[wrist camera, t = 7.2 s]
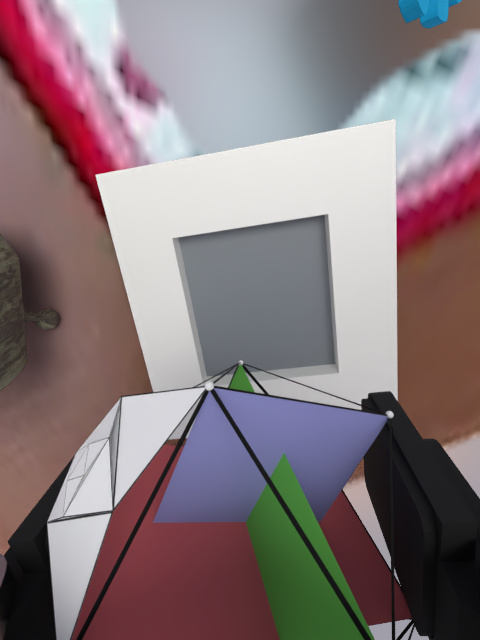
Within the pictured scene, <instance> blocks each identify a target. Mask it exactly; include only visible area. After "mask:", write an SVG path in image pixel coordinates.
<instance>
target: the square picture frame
mask: <svg viewBox="0 0 480 640" xmlns="http://www.w3.org/2000/svg"><path fill="white" fill-rule="evenodd" d="M96 179H97V183H98V187H99V190H100V194H101V198H102V202H103V205H104V209H105V213H106V217H107V220H108V224H109V228H110V232H111V235H112V239H113V243H114V247H115V250H116V254H117V258H118V262H119V265H120V269H121V273H122V277H123V280H124V284H125V288H126V292H127V295H128V299H129V303H130V307H131V310H132V314H133V318H134V322H135V325H136V329H137V333H138V337H139V340H140V344H141V348H142V352H143V355H144V359H145V363H146V367H147V370H148V374H149V378H150V382H151V385H152V389H153V392H159V391H167V390H175V389H183V388H192V387H194V386H196V385H198V384H200V383H202V382H204V381H206V380H207V379H209V378H211V377H213V376H215V375H217V374H219V373H221V372H223V371H224V370H226V369H228V368H230V367H232V366H234V365H236V364H238V362H239V361H240V360H242V361H243V362H244V364H247V365H250V366H253V367H256V368H258V369H261V370H264V371H267V372H270V373H273V374H276V375H278V376H281V377H284V378H287V379H290V380H293V381H295V382H298V383H301V384H304V385H307V386H310V387H312V388H315V389H318V390H321V391H324V392H327V393H329V394H332V395H335V396H338V397H341V398H344V399H346V400H349V401H352V402H355V403H358V404H361V400H362V399H366V398H368V394H369V393H373V392H385V391H391V392H392V394H393V395H394V397H395V398H396V400H397V401H398V392H397V248H396V119H393V120H387V121H382V122H377V123H371V124H366V125H361V126H355V127H350V128H344V129H339V130H334V131H328V132H323V133H318V134H312V135H307V136H302V137H296V138H291V139H286V140H280V141H275V142H269V143H264V144H259V145H253V146H248V147H242V148H237V149H232V150H226V151H221V152H216V153H210V154H205V155H199V156H194V157H189V158H183V159H178V160H173V161H167V162H162V163H156V164H151V165H146V166H140V167H135V168H130V169H124V170H119V171H113V172H108V173H103V174H97V175H96ZM244 366H245V367H246V368H247V369H248V370H249V371H250V373H251V374H252V375H253V376H254V377H255V378H256V380H257V381H258V382H259V383H260V384H261V385H262V387H263V388H264V389H265V390H266V391H267V393H268V394H269V395H274V396H280V397H286V398H292V399H298V400H304V401H310V402H317V403H323V404H329V405H335V406H341V407H347V408H353V409H359V410H362V409H361V406H359V405H356V404H353V403H351V402H348V401H345V400H342V399H339V398H337V397H334V396H331V395H328V394H325V393H322V392H320V391H317V390H314V389H311V388H308V387H306V386H303V385H300V384H297V383H294V382H291V381H289V380H286V379H283V378H280V377H277V376H275V375H272V374H269V373H266V372H263V371H261V370H258V369H255V368H252V367H249V366H246V365H244ZM236 368H237V366H236V367H235V368H234V369H233V370H231V371H230V372H229V373H227V374H226V375H225V376H224V377H222V378H221V379H220V380H219V381H217V382H216V383H215V384H214V386H220V387H226V388H228V386H229V384H230V382H231V379H232V377H233V375H234V372H235V370H236ZM229 370H230V369H229ZM229 370H227V371H229ZM227 371H225V372H223V373H221V374H219V375H217V376H216V377H214V378H212V379H210V380H208V381H211V382H214V381H215V380H217V379H218V378H219V377H221V376H222V375H223V374H225V373H226V372H227ZM244 371H245V370H244ZM245 373H246V375H247V377H248V379H249V381H250V383H251V385H252V387H253V389H254V391H255V392H256V393H262V394H264V392H263V391H262V390H261V389H260V388H259V387H258V385H257V384H256V383H255V382H254V381H253V379H252V378H251V377H250V376H249V375H248V374H247V372H246V371H245ZM208 381H206V382H208ZM206 382H204V383H202V384H201V385H199V386H197V387H200V386H205V383H206ZM201 397H202V396H201ZM201 397H200V399H201ZM200 399H199V400H198V401H197V402H196V404H195V405H194V406H193V408H192V409H191V410H190V412H189V413H188V414H187V416H186V417H185V418H184V420H183V421H182V422H181V423H180V425H179V426H178V427H177V429H176V430H175V431H174V433H173V434H172V435H171V437H170V438H169V439H180V438H181V436H182V434H183V432H184V430H185V428H186V426H187V424H188V422H189V420H190V418H191V416H192V414H193V412H194V410H195V409H196V407H197V405H198V403H199V401H200ZM196 417H197V416H196ZM195 419H196V418H195ZM194 422H195V420H194ZM194 422H193V424H194ZM193 424H192V426H193ZM192 426H191V428H190V430H189V432H188V434H187V436H186V438H188V436H189V434H190V431H191V429H192ZM169 439H168V440H169Z"/></svg>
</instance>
